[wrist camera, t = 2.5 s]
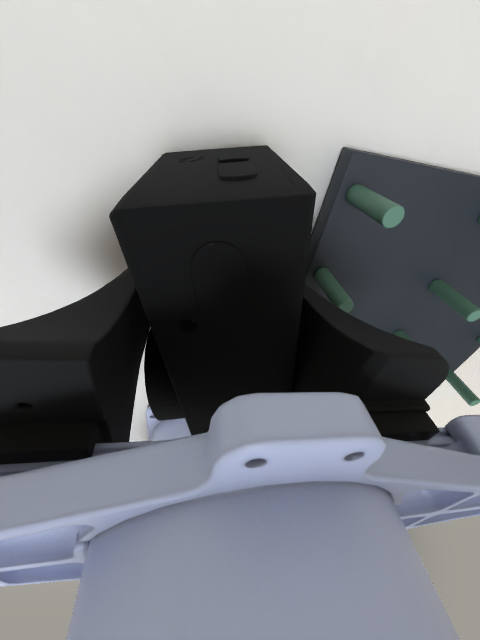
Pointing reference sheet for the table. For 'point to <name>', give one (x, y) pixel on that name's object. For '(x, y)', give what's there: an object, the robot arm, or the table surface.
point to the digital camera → (217, 275)
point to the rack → (403, 252)
